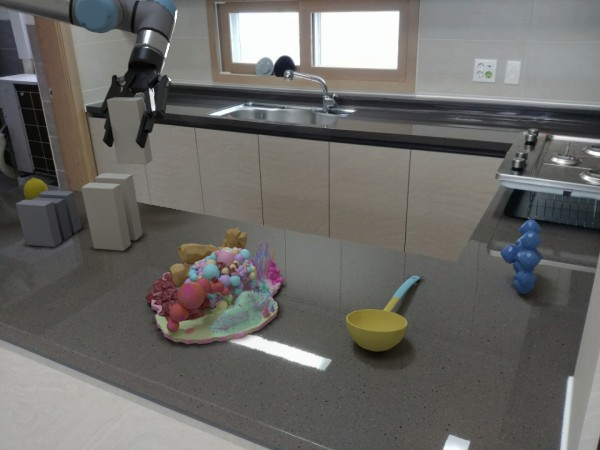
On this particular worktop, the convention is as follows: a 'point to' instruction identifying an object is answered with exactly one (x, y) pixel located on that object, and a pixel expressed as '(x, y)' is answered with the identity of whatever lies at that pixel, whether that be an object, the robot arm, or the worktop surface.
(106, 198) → the cream book row
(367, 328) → the ladle
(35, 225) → the grey books
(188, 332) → the candy landscape model
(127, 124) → the cream tall block
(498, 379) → the worktop surface
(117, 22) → the robot arm
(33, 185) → the lemon
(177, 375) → the worktop surface
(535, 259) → the grapes
